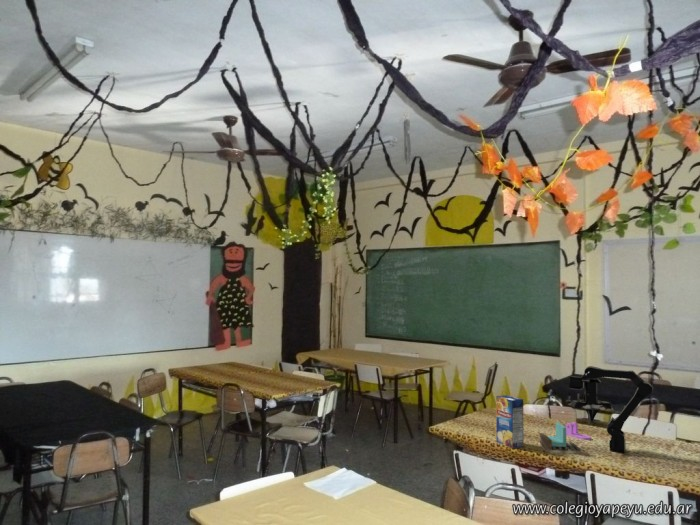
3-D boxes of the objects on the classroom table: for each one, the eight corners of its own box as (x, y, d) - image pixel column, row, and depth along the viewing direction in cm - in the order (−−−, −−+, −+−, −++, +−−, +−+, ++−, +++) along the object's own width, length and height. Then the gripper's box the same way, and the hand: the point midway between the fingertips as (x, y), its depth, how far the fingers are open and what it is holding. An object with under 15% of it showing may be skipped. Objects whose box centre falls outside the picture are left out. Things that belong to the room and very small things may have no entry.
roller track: (573, 445, 265) (573, 434, 265) (583, 453, 252) (583, 441, 252) (538, 444, 266) (538, 432, 266) (546, 452, 253) (546, 439, 253)
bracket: (565, 435, 286) (565, 422, 286) (571, 433, 289) (571, 421, 289) (587, 441, 275) (586, 427, 275) (593, 439, 278) (593, 426, 278)
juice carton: (496, 442, 269) (496, 396, 271) (507, 440, 272) (507, 395, 274) (512, 448, 258) (512, 400, 260) (523, 446, 262) (523, 399, 263)
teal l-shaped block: (558, 440, 264) (558, 422, 265) (566, 446, 253) (566, 427, 254) (544, 440, 265) (544, 421, 265) (552, 446, 254) (551, 427, 254)
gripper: (602, 388, 272) (603, 418, 271) (566, 387, 273) (567, 417, 272) (612, 392, 261) (612, 423, 260) (574, 391, 262) (575, 422, 261)
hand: (591, 421), depth 264 cm, fingers closed
